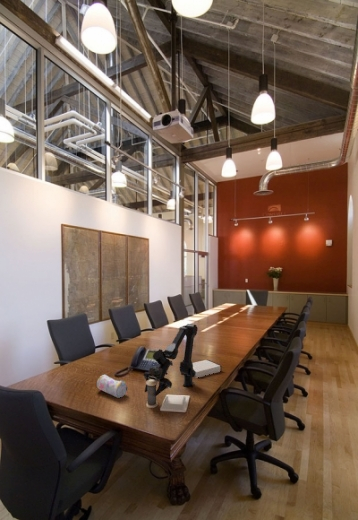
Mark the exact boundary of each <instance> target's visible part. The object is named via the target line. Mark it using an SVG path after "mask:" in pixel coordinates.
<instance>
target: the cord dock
mask: <svg viewBox="0 0 358 520" xmlns="http://www.w3.org/2000/svg"><path fill="white" fill-rule="evenodd" d="M190 397H191V396H190V395H187V394H185V395H181V394H180V395H179V394H166V395H165V397H164V399H163V402H162V404H161V405H160V408H159V409H160V412H175V413H176V412H178V413H186V412H187V409H188V405H189V402H190Z"/></svg>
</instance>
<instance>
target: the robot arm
mask: <svg viewBox="0 0 358 520" xmlns="http://www.w3.org/2000/svg"><path fill="white" fill-rule="evenodd" d="M198 329H199V328H198V326H197V324H194V323H187V324H185V325H182V326H180V327H179V329H178V332H177V334H176V335H175V337H174V338H173V341H172V343H171V344H170V345H168V346H167V347H166V348H165V349H164V350H162V349H160V348H159V349H158V350H157V351H155V352H154V353H153V354H152V358H153V360H154V361H155V362H156V363H157V364H158V366H156V367H155V368H154V367H150V366H149V369H148V371H145V372H144V373H143V375H142V376H143V377H144V379H145V382H146V381H148V380H157V383H158V386H157V388H156V393H155V396H156V397H157V396H158V395H160V394H161V393H162V392H163V391H165V390H166V389H169V388H170V389H171V388H172V386H173V383H172V381H171V380H170V379H169V378H168V377H165V376H167V375H168V374H169V373H168V370H169V368H170V367H171V366H172V367H173V364H174V363H173V361H172V360H175V359H176V358H177V357H178V354H179V347H180V346H181V344H182V342H183V340H184V338H185V337H186V339H185V348H184V357H183V359H182V361H181V362H180V363H179V371H180V374H181V376H183V383H182V387H194V384H195V383H194V380H193V379H194V378H196V377H195V375H196V372H195V371H194V369H193V364H192V363H193V361H192V356H193V348H194V347H193V346H194V339H195V337H196V336H197V334H198ZM144 393H147V385H146V384H145V387H144Z"/></svg>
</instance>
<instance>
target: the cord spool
mask: <svg viewBox="0 0 358 520" xmlns="http://www.w3.org/2000/svg"><path fill="white" fill-rule="evenodd" d="M146 385H147V392H146V393H147V394H146V395H147V402H146V406H145V407H146V408H148V409H155V408H157V407H158V404H159V403H158V401H157V396H155V393H156V391H157V385H158V381H157V380H148V381H146V380H145V386H146Z"/></svg>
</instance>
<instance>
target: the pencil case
mask: <svg viewBox="0 0 358 520" xmlns="http://www.w3.org/2000/svg"><path fill="white" fill-rule="evenodd" d="M96 387H97V389H98V390H101V391H102V392H104V393H106V394H108V395H111V396H113V397H115V398H118V399H120V397H121V398H122V397H124V396H125V395H126V393H127V391H128V386H127V384H126V381H124V380H122V379H121V380H116V379H114V378H112V377H111V376H108V375H107V374H103V375H100V376H99V377H98V378H97V381H96Z"/></svg>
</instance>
